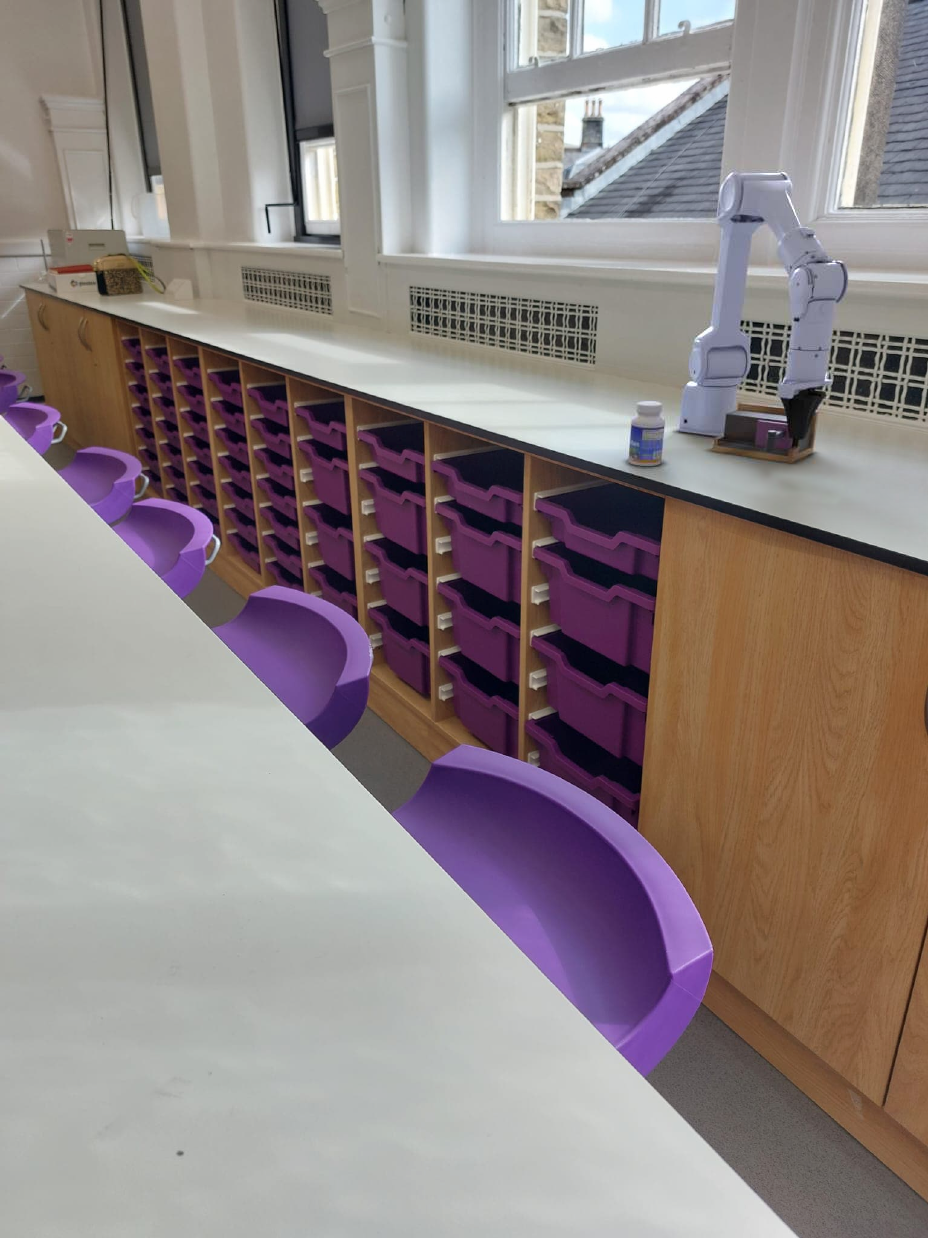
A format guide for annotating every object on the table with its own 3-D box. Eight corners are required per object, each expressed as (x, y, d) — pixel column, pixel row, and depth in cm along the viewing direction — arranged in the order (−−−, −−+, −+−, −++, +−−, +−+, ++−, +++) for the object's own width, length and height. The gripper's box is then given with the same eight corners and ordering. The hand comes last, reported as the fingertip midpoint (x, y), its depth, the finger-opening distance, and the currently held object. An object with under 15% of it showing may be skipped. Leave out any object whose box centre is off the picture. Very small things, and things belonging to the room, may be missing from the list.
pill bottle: (624, 459, 147) (628, 400, 143) (656, 457, 148) (660, 399, 144) (633, 467, 142) (637, 406, 138) (665, 466, 143) (670, 405, 139)
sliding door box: (712, 450, 151) (716, 410, 148) (735, 441, 157) (740, 402, 155) (791, 462, 143) (797, 419, 140) (812, 452, 149) (818, 411, 146)
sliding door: (740, 454, 144) (743, 425, 142) (756, 447, 148) (759, 419, 146) (776, 459, 140) (779, 430, 138) (791, 452, 144) (794, 424, 142)
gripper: (817, 355, 125) (803, 450, 130) (853, 344, 134) (839, 433, 140) (769, 352, 129) (758, 443, 134) (808, 342, 139) (796, 427, 144)
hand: (796, 438), depth 137 cm, fingers closed
